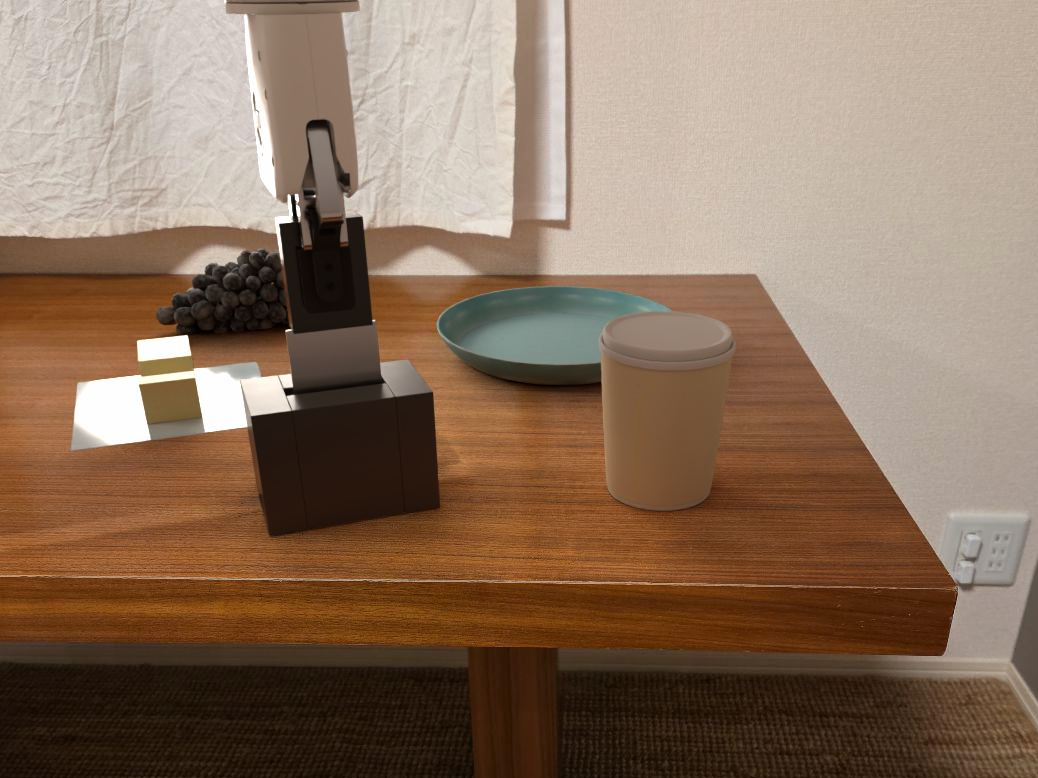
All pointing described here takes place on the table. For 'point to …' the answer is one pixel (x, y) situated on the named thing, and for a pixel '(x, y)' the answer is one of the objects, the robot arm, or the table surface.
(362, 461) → the stand
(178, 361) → the butter
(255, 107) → the robot arm
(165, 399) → the tan square block
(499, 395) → the table surface
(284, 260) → the knife
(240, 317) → the fruit
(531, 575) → the table surface
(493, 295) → the teal plate
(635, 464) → the coffee cup
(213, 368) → the butter dish
